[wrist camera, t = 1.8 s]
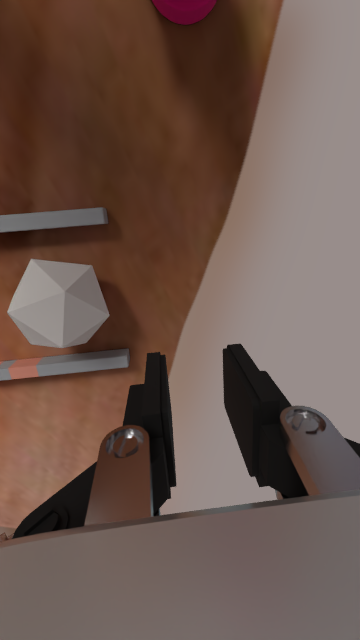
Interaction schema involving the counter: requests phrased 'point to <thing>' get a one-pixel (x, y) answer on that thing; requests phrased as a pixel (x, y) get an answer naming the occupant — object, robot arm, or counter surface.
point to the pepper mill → (184, 10)
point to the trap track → (71, 361)
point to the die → (58, 304)
